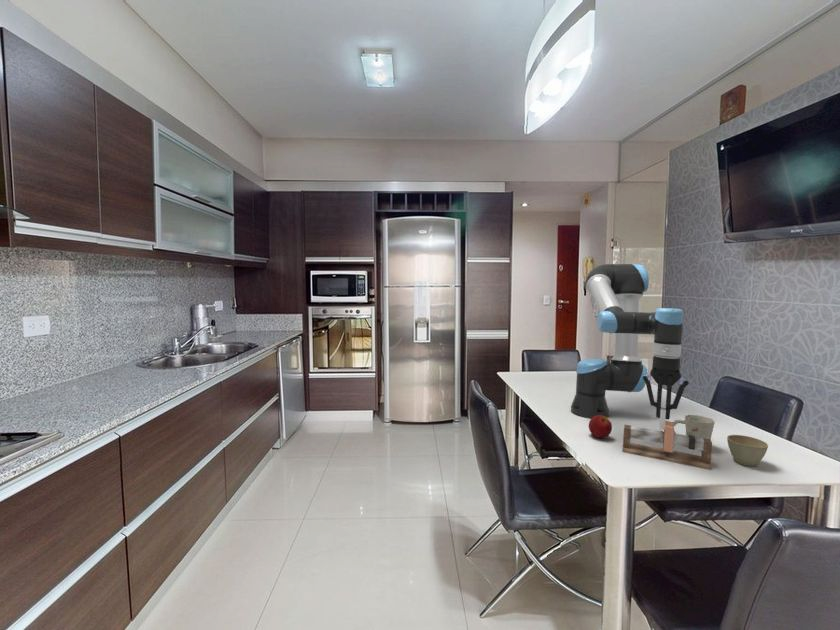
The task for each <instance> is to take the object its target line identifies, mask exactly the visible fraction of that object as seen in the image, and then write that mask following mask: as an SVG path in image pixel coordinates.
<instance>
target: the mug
mask: <svg viewBox="0 0 840 630" xmlns="http://www.w3.org/2000/svg"><path fill="white" fill-rule="evenodd" d="M672 422H673V424H674V427H675V426H676V425H677V424H681V425H685V435H687V436H688V435H692V436H695V437H699V438H708V439H711V440H712V436H713V431H714V427H715V420H714V419H713V418H711V417H708V416H704V415H698V414H686V415H685V416H684V419H683V420H682V419H675V420H673V421H672ZM674 433H675V434H677V432H676V431H675V430H674Z"/></svg>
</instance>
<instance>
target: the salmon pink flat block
mask: <svg viewBox="0 0 840 630" xmlns="http://www.w3.org/2000/svg"><path fill="white" fill-rule="evenodd" d="M674 431H675V426H674V424H673V421H669V420H665V430H663V432H665V435H664V444H662V447H663V448H662V449H664V451H666V452H672V453H673V451H674V449H673V448H674V445H673V438H674Z"/></svg>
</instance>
